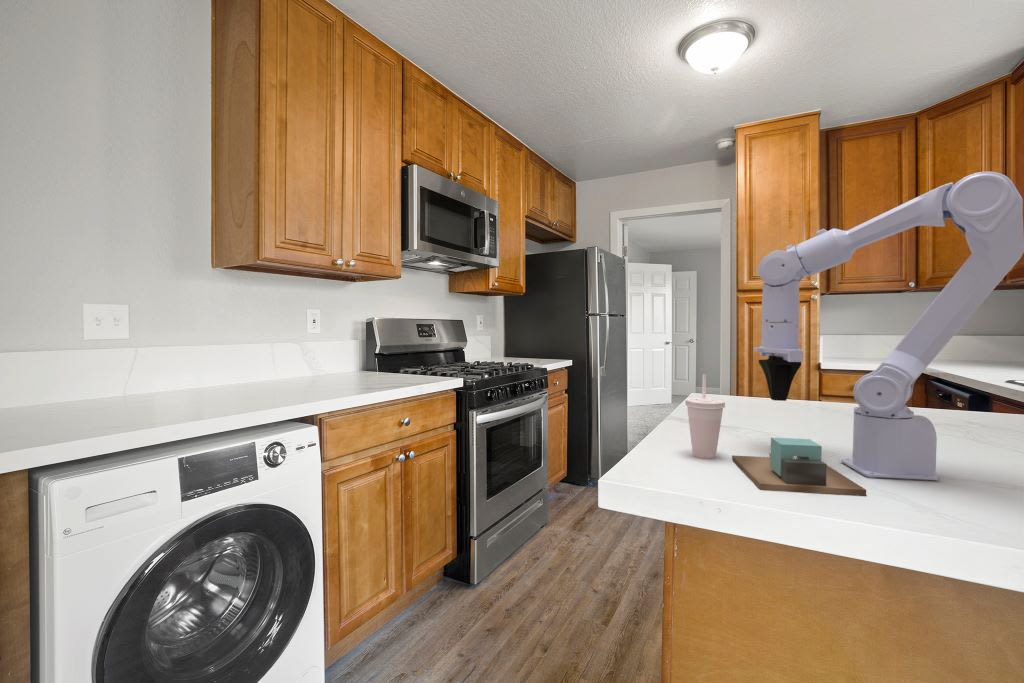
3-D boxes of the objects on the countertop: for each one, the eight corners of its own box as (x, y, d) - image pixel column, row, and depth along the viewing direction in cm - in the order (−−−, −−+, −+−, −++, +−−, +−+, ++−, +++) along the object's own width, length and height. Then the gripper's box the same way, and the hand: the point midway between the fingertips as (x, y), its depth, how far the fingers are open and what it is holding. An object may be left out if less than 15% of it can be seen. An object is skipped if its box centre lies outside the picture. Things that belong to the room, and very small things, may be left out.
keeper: (808, 469, 69) (809, 439, 69) (821, 478, 65) (821, 446, 65) (770, 467, 70) (770, 437, 70) (780, 476, 66) (780, 444, 66)
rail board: (818, 464, 75) (818, 441, 75) (866, 495, 62) (866, 467, 62) (732, 460, 78) (732, 437, 78) (759, 489, 64) (760, 462, 64)
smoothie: (717, 451, 83) (718, 373, 83) (730, 461, 77) (731, 377, 77) (680, 450, 84) (681, 373, 84) (690, 460, 78) (691, 377, 77)
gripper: (743, 322, 89) (741, 393, 90) (769, 322, 75) (768, 406, 75) (783, 322, 88) (781, 394, 88) (818, 322, 73) (816, 407, 74)
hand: (778, 400), depth 82 cm, fingers closed
